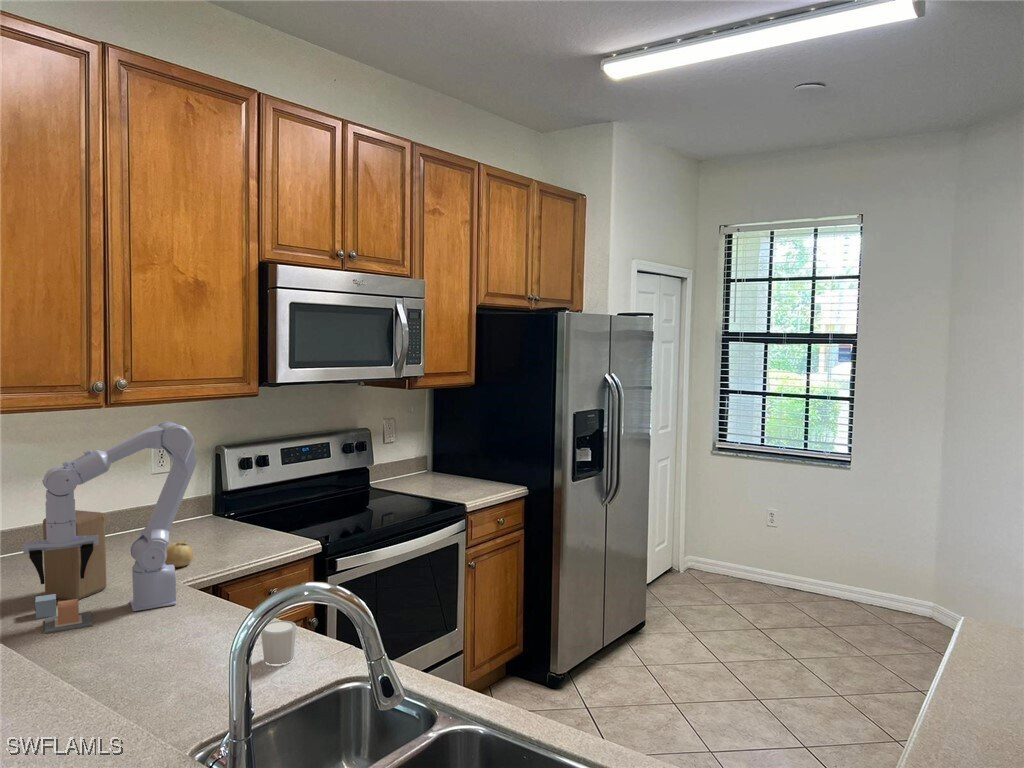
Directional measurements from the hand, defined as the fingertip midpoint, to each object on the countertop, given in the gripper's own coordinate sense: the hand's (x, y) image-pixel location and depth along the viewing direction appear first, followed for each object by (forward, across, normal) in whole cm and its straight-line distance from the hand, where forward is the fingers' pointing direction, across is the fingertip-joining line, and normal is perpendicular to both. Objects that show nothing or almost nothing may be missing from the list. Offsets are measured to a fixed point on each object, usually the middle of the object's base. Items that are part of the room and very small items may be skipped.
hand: (62, 580), depth 170 cm
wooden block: (+10, -3, -19) cm, 22 cm away
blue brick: (+10, +3, -7) cm, 12 cm away
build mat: (+9, -1, +2) cm, 10 cm away
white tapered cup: (+10, -36, +46) cm, 59 cm away
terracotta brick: (+9, -1, +2) cm, 9 cm away
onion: (+10, -28, -31) cm, 43 cm away
